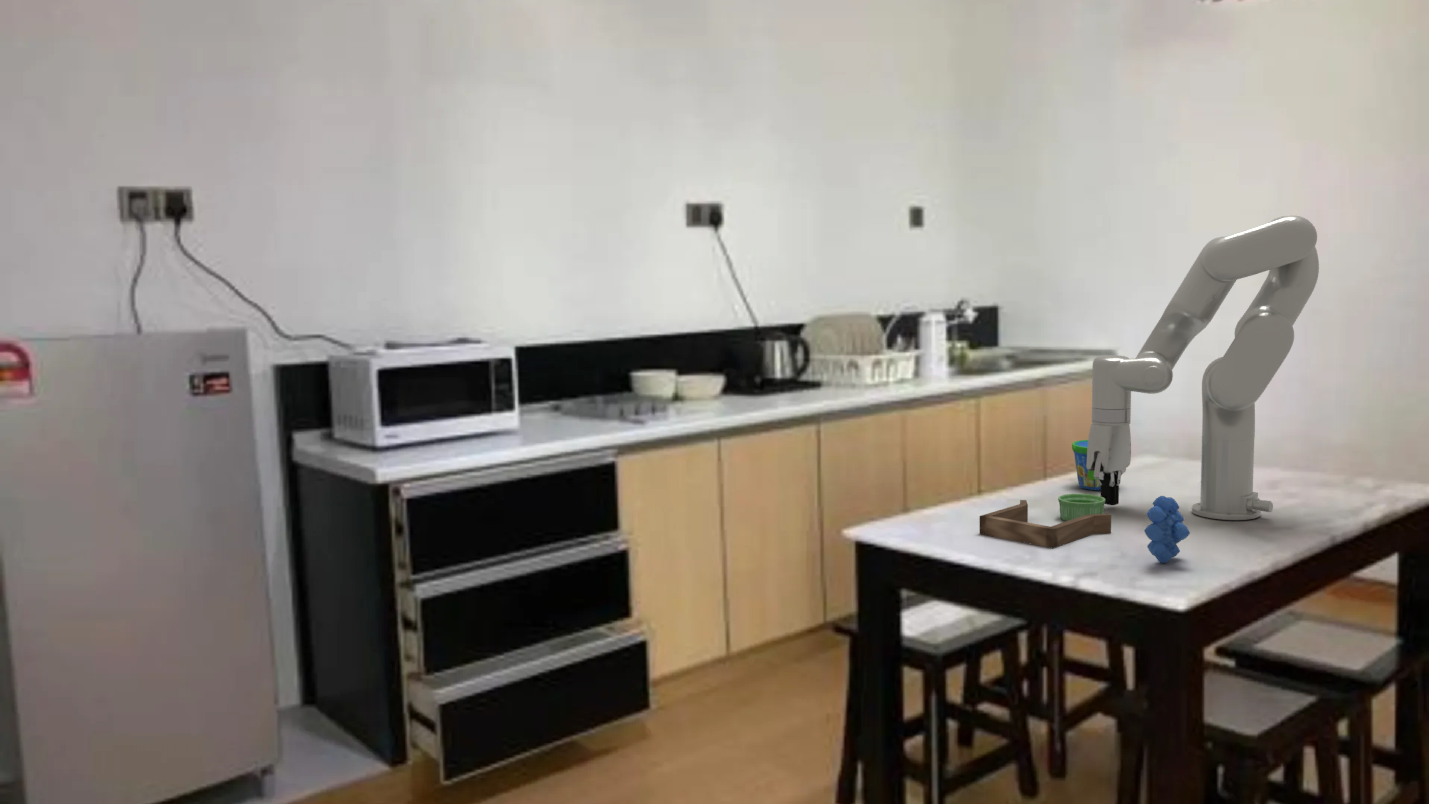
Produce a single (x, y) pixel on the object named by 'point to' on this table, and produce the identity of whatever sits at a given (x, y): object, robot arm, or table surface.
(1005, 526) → the walnut holder
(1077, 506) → the ramekin
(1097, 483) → the snack cup
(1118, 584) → the table surface
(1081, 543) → the table surface
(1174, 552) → the grapes
